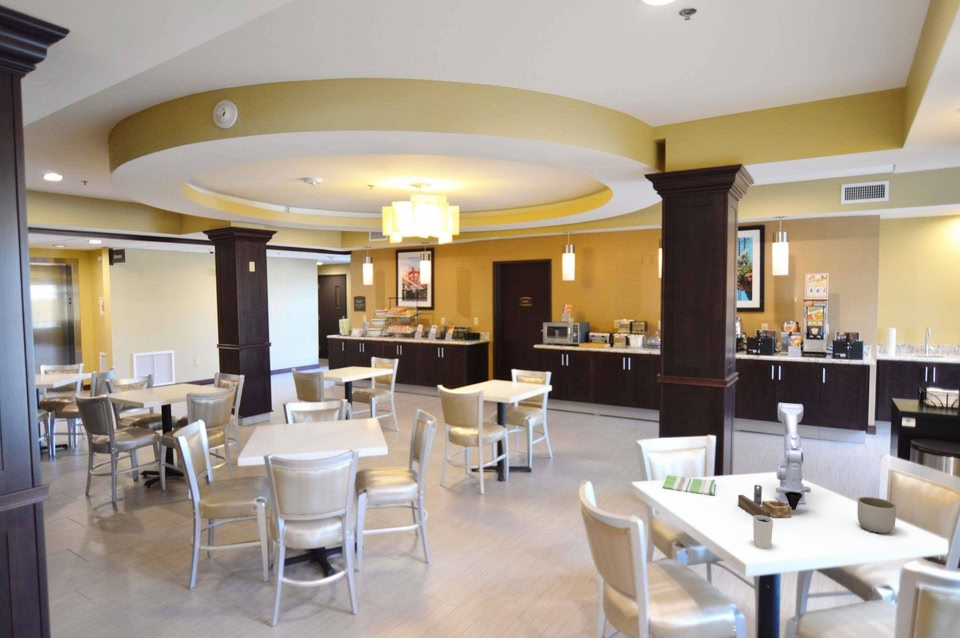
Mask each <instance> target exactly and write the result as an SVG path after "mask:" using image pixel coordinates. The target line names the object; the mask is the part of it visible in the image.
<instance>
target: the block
mask: <svg viewBox="0 0 960 638" xmlns="http://www.w3.org/2000/svg"><path fill="white" fill-rule="evenodd" d="M761 507H763V508H765V509H766V510H768V511H769V512H770V517H772V519H774V518H776V519H778V518H792V513H793V512H792V511H793V510H792V507H790V506H789V504H785V503H783V502H781V501H780V500H761Z"/></svg>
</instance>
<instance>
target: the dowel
mask: <svg viewBox="0 0 960 638" xmlns="http://www.w3.org/2000/svg"><path fill="white" fill-rule="evenodd" d="M753 487H754V488H753V490H754V491H753V502H755V503H757V504H758V505H760V506H762V497H763V496H762V493H763V492H762V491H763V490H762V489H763V487H762V485H759V484H754V486H753Z"/></svg>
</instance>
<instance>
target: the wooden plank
mask: <svg viewBox="0 0 960 638" xmlns="http://www.w3.org/2000/svg"><path fill="white" fill-rule="evenodd" d="M737 496H738V497H737V498H738V499H737V507H739V508H740V509H741V510H743V511H745V512H746V513H747V514H749V515H750V516H752V517H753V516H756V515H762V516H767V517H769V518H771V516H770V512H769V511H768V510H766V509H765V508H763V507H762V505H758V504H757V503H755V502H754V500H752V499H750V498H748V497H747V496H746V495H744V494H738V495H737Z"/></svg>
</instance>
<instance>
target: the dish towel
mask: <svg viewBox="0 0 960 638" xmlns="http://www.w3.org/2000/svg"><path fill="white" fill-rule="evenodd" d="M715 487H716V488H717V484H716V479H701V478H689V477H685V476H680V475H678V476H677V475H671V474H670V475H666V479H665V481H664V483H663V486H662V489H665V490H671V491H677V492H682V491H684V492H683V493H689V492H690V494H695V493H696V494H698V495H703V494H704V496H715V494H716V488H715ZM696 494H695V495H696Z"/></svg>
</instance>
